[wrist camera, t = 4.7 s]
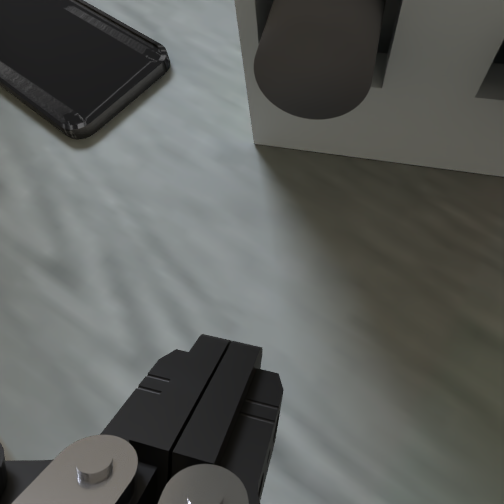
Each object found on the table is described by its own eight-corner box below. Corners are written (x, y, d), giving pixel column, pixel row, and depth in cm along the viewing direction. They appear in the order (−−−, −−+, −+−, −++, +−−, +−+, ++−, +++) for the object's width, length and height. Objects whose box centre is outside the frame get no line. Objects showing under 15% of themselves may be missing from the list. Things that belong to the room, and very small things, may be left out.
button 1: (363, 125, 16) (383, 27, 12) (258, 113, 16) (248, 17, 13) (376, 50, 17) (396, -56, 14) (280, 42, 18) (276, -61, 14)
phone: (73, 136, 23) (-67, 31, 28) (83, 150, 24) (-54, 45, 29) (176, 51, 25) (28, -33, 30) (180, 66, 26) (37, -17, 31)
